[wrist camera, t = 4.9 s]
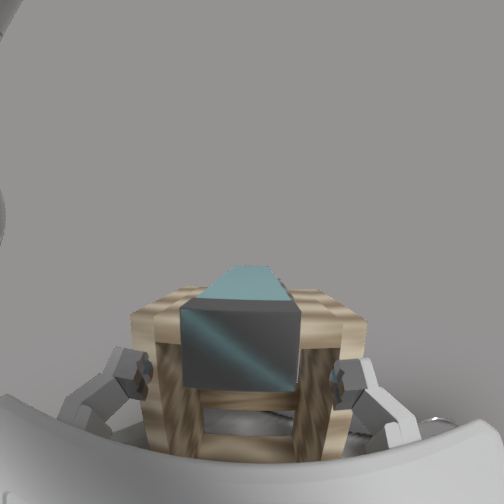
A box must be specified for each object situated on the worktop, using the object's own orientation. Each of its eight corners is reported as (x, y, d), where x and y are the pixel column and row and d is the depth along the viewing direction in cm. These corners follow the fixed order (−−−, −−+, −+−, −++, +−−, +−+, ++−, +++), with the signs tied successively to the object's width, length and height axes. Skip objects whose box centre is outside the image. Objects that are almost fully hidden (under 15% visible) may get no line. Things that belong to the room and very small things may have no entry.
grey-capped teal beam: (295, 391, 9) (301, 311, 9) (183, 387, 9) (179, 307, 9) (267, 290, 34) (268, 266, 34) (234, 290, 34) (235, 265, 34)
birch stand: (320, 516, 19) (369, 301, 19) (168, 510, 19) (129, 295, 19) (302, 441, 36) (319, 278, 36) (193, 438, 36) (184, 275, 36)
